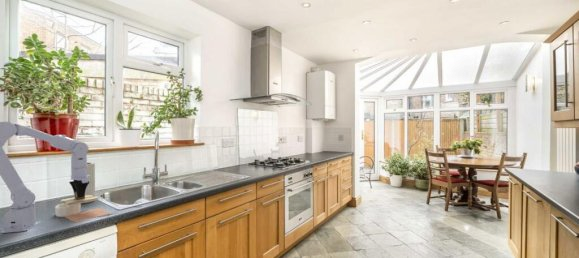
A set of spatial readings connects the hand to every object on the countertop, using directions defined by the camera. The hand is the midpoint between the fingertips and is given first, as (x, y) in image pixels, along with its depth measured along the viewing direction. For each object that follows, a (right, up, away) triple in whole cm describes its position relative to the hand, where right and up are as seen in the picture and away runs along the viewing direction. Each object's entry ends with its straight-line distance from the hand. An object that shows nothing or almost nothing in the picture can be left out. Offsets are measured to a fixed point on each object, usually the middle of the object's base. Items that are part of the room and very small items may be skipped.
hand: (79, 196), depth 121 cm
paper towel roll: (-13, -9, +22) cm, 27 cm away
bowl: (-7, -9, +1) cm, 11 cm away
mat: (+4, -9, -1) cm, 10 cm away
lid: (0, -2, 0) cm, 2 cm away
